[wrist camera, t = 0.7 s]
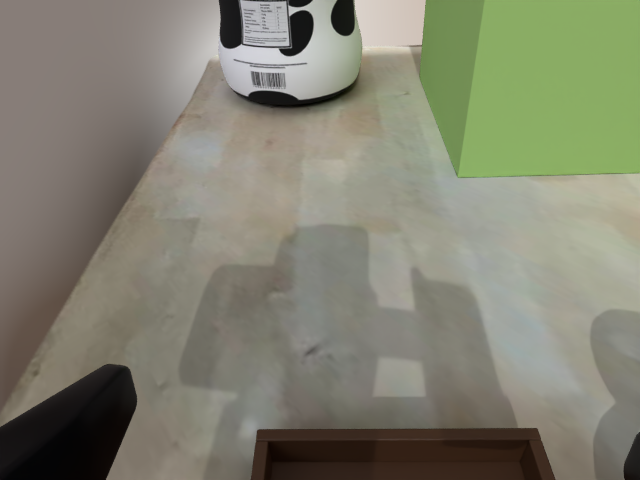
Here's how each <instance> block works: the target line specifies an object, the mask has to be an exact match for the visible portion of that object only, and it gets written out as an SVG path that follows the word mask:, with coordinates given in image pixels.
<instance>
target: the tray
mask: <svg viewBox="0 0 640 480" xmlns="http://www.w3.org/2000/svg"><path fill="white" fill-rule="evenodd" d="M251 480H555V477H554V475H553V472H552V469H551V466H550V463H549V460H548V457H547V455H546V452H545V449H544V446H543V443H542V441H541V438H540V435H539V432H538V429H537V428H481V429H259V430H257V436H256V444H255V452H254V460H253V468H252V476H251Z"/></svg>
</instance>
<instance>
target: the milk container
mask: <svg viewBox="0 0 640 480" xmlns="http://www.w3.org/2000/svg"><path fill="white" fill-rule="evenodd" d="M219 5H220V14H221V23H220V35H219V58H220V63H221V67H222V70H223V73H224V76H225V79H226V81H227V83H228V84H229V86H230V87H231V89H232V90H233V91H234V92H236V93H237V94H239V95H241V96H243V97H245V98H247V99H249V100H251V101H255V102H261V103H265V104H274V105H296V104H305V103H313V102H317V101H320V100H324V99H328V98H332V97H333V96H335V95H337V94H339V93H341V92H343V91H345V90H346V89H347V88H349V87H350V86H351V85H352V84H353V82H354V81H355V80H356V78H357V76H358V73H359V69H360V64H361V58H362V39H361V34H360V29H359V26H358V21H357V17H356V12H355V3H354V0H219Z"/></svg>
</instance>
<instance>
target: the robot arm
mask: <svg viewBox="0 0 640 480" xmlns="http://www.w3.org/2000/svg"><path fill="white" fill-rule="evenodd" d="M136 405H137V395H136V391H135V387H134V383H133V379H132V375H131V371H130V369H129V368H128V367H127V366H123V365H115V364H107V365H104V366H102V367H100V368H99V369H97V370H95V371H94V372H92V373H90V374H89V375H87V376H85V377H84V378H82V379H80V380H79V381H77V382H75V383H74V384H72V385H70V386H68V387H67V388H65V389H63V390H62V391H60V392H58V393H57V394H55V395H53V396H52V397H50V398H48V399H47V400H45V401H43V402H42V403H40V404H38V405H37V406H35V407H33V408H32V409H30V410H28V411H26V412H25V413H23V414H21V415H20V416H18V417H16V418H15V419H13V420H11V421H10V422H8V423H6V424H5V425H3V426H1V427H0V480H106V478H107V476H108V474H109V471H110V469H111V467H112V464H113V462H114V459H115V457H116V455H117V452H118V450H119V447H120V445H121V443H122V440H123V438H124V436H125V433H126V431H127V428H128V426H129V424H130V421H131V419H132V416H133V414H134V412H135V409H136ZM624 479H625V480H640V432H639V433H638V434H637V435H636V437H635V439H634V442H633V444H632V446H631V449H630V451H629V454H628V456H627V458H626V461H625V464H624Z"/></svg>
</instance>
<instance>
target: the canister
mask: <svg viewBox="0 0 640 480" xmlns="http://www.w3.org/2000/svg"><path fill="white" fill-rule="evenodd" d="M420 80H421V83H422V85H423V88H424V91H425V93H426V96H427V99H428V101H429V104H430V107H431V109H432V112H433V114H434V117H435V120H436V122H437V125H438V127H439V130H440V133H441V135H442V138H443V140H444V143H445V146H446V148H447V151H448V153H449V156H450V159H451V161H452V164H453V166H454V169H455V171H456V174H457V176H458V178H461V177H499V176H535V175H574V174H609V173H640V0H426V5H425V17H424V29H423V41H422V53H421V65H420Z"/></svg>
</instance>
